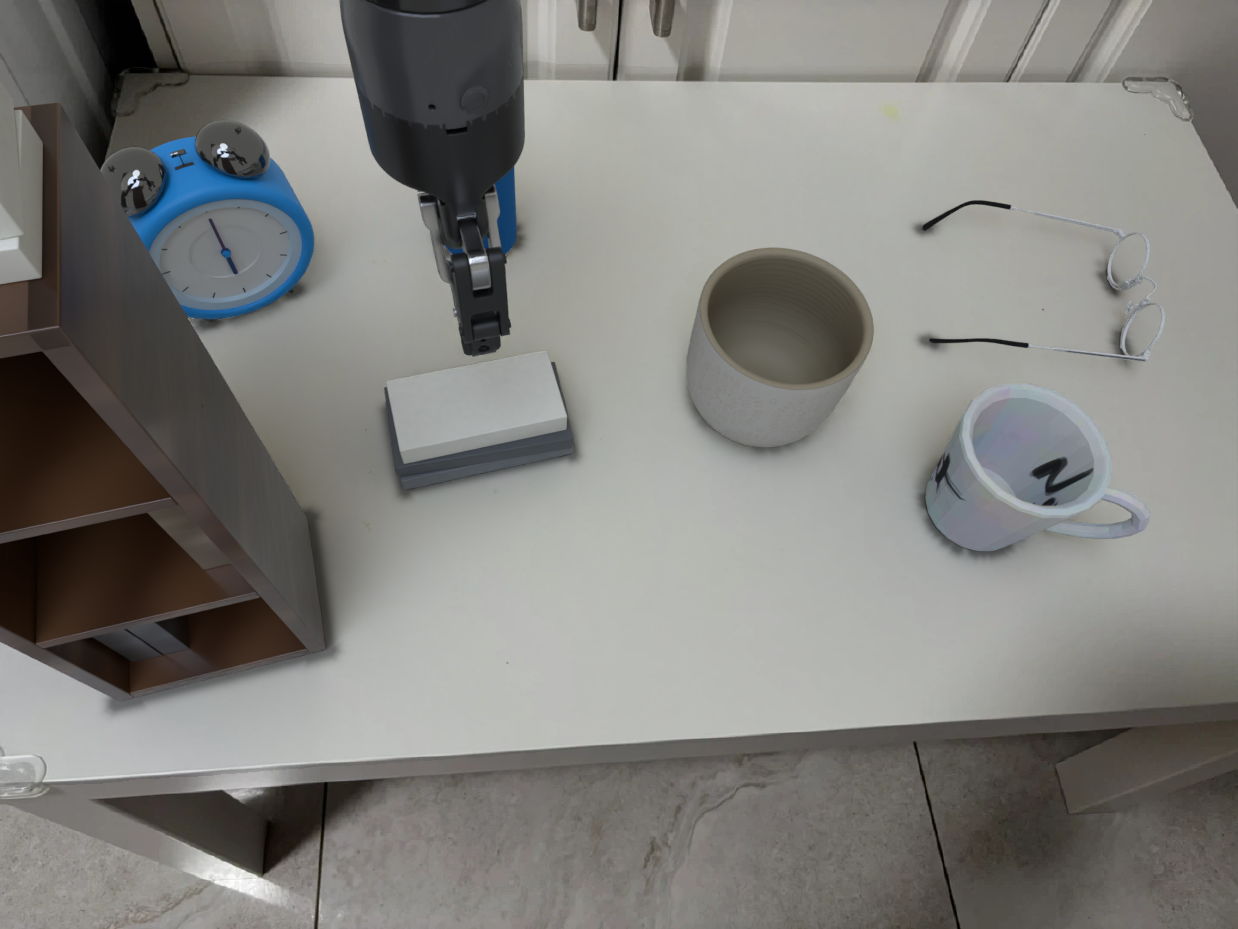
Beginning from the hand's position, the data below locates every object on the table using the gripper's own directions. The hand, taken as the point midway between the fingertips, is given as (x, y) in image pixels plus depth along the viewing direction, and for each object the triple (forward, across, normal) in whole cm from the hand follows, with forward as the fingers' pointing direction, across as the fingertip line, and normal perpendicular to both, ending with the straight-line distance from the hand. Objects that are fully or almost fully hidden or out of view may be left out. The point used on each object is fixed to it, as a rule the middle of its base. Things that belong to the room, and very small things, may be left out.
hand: (466, 292), depth 52 cm
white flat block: (+13, +1, 0) cm, 13 cm away
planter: (+16, +3, +22) cm, 27 cm away
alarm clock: (+16, -18, -16) cm, 29 cm away
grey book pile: (+16, +1, 0) cm, 16 cm away
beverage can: (+16, -18, +4) cm, 25 cm away
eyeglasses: (+16, -1, +50) cm, 52 cm away
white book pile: (-20, +10, -20) cm, 30 cm away
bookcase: (+16, +10, -20) cm, 28 cm away
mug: (+16, +18, +37) cm, 44 cm away
